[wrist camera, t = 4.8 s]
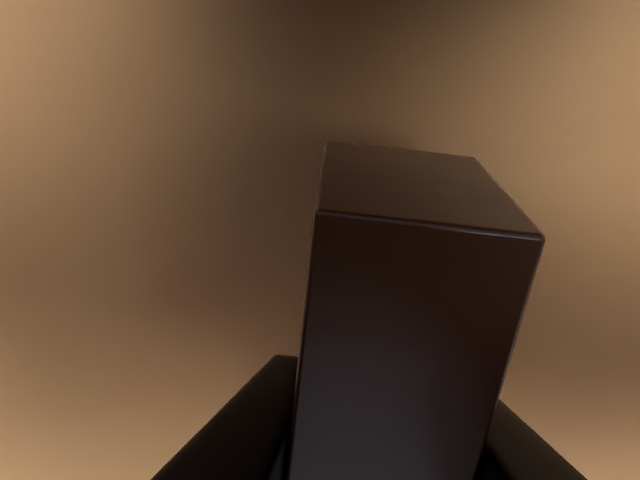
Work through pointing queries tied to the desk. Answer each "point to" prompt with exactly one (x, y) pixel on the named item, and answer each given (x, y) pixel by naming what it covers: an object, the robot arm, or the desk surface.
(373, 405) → the dark rectangular block
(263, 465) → the robot arm
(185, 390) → the desk surface
